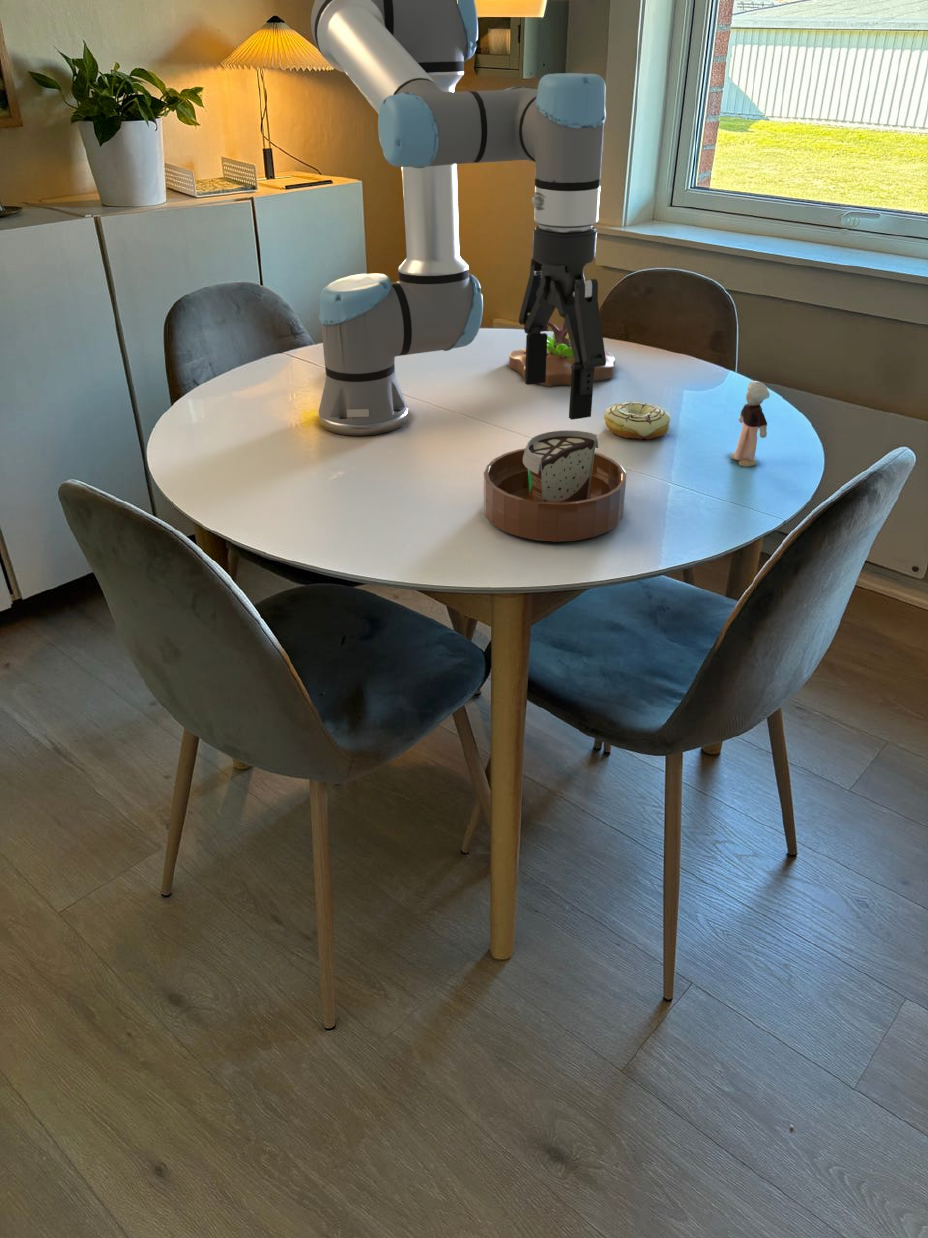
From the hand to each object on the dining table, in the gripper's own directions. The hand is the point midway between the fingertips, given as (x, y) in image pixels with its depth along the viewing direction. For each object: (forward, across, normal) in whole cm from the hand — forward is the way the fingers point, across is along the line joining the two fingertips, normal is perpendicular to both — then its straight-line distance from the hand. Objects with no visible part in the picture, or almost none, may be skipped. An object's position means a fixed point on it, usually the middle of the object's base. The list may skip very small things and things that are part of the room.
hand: (556, 399), depth 121 cm
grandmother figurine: (+16, -4, +35) cm, 39 cm away
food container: (+16, 0, 0) cm, 16 cm away
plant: (+17, -56, +29) cm, 66 cm away
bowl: (+16, +1, 0) cm, 16 cm away
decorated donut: (+17, -22, +26) cm, 38 cm away
